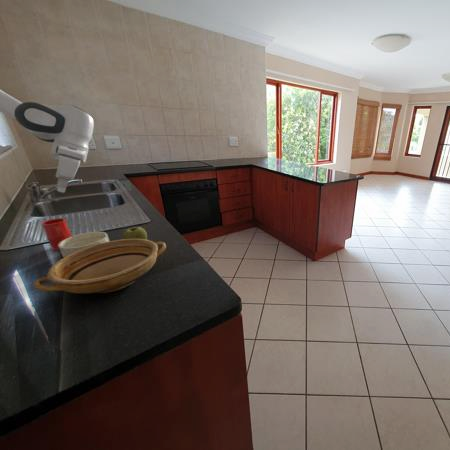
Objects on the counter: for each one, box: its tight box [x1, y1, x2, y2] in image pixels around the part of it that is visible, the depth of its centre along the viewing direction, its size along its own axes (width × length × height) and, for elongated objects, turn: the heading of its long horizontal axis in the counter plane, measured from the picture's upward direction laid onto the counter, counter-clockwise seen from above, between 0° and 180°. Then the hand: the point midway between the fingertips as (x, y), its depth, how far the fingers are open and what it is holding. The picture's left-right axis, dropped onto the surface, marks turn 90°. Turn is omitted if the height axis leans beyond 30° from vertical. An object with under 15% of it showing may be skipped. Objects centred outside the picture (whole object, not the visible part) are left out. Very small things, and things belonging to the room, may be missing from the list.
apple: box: [121, 226, 148, 240], centre depth 87 cm, size 8×8×7 cm
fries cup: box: [41, 218, 73, 251], centre depth 86 cm, size 6×6×10 cm
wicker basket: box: [33, 238, 167, 295], centre depth 67 cm, size 30×24×8 cm
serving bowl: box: [58, 231, 111, 258], centre depth 84 cm, size 13×13×4 cm
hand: (60, 191), depth 82 cm, fingers open, 8 cm apart
